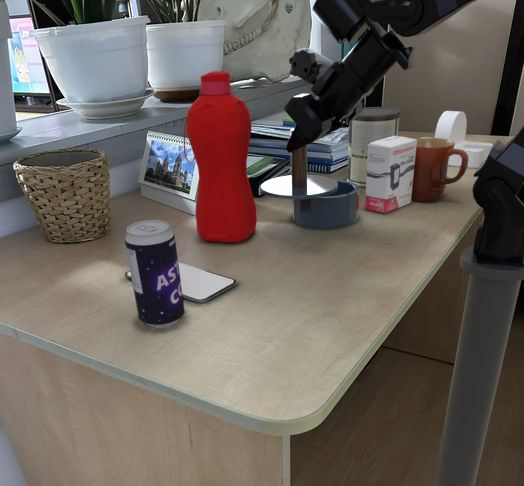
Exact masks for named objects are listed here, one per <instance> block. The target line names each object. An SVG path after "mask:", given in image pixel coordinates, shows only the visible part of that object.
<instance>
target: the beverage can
mask: <svg viewBox="0 0 524 486" xmlns="http://www.w3.org/2000/svg"><path fill="white" fill-rule="evenodd" d="M125 230H126V235H125V238H124V245H125V251H126V255H127V261H128V266H129V271H130V272H131V278H132V280H131V282H132V288H133V293H134V299H135V305H136V309H137V314H138V319H139V320H140V321H141V322H143V324H146V325H147V326H149V327H151V328H156V329H163V328H169V327H171V326H174V325H175V324H177V323H178V322H179V321H180V320H181V318H182V317H183V316H184V315H185V312H186V310H185V309H186V308H185V304H184V303H185V301H184V298H183V294H182V287H181V279H180V272H179V264H178V262H179V258H178V251H177V242H176V235H175V234H174V232H173V230H172V229H171V224H170V223H169V222H167V221H165V220H161V219H147V220H142V221H137V222H133V223H131V224H129V225H128V226H127V227H126V229H125Z"/></svg>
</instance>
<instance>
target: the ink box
mask: <svg viewBox="0 0 524 486" xmlns="http://www.w3.org/2000/svg"><path fill="white" fill-rule="evenodd" d="M416 139H417V138H411V137H406V136H402V135H401V136H400V135H398V136H392V137H388V138H385V139H381V140H378V141H375V142H371V143H370V144H368V158H367V177H366V187H365V199H364V209H365V210H369V211H373V212H378V213H381V214H388V213H391V212H392V211H395V210H397V209H400V208H402V207H404V206H407V205H410V204H411V203H412V200H411V194H412V185H413V175H414V165H415V156H416V146H417V140H416Z"/></svg>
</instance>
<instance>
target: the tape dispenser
mask: <svg viewBox="0 0 524 486" xmlns="http://www.w3.org/2000/svg"><path fill="white" fill-rule="evenodd" d="M467 125H468V123H467V115H466V113H465V112H464V111H456V110H445V111H443V113H441V115H440V116H439V118H438V121H437V124H436V128H435V131H434V138H442V139H448V140H451V141H453V142H455V146H454V149H461V150H464V151H465V152H466V153H467V155H468V166H467V168H470V169H478V167H479V166H480V164H481V163H482V162H484V161H485V160H486V159H487V157H488V155H489V153H490V151H491V149H492V147H493V146H494V144H493V143H492V142H491V143H489V142H481V141H470V140H469V141H468V140H466V135H467ZM421 138H429V137H428V136H427V137H426V136H424V137H423V136H421ZM461 163H462V158H461V156H460V155H457V154H454V155H452V156H450V157H449V161H448V166H453V167H461Z"/></svg>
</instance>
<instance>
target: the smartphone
mask: <svg viewBox="0 0 524 486" xmlns="http://www.w3.org/2000/svg"><path fill="white" fill-rule="evenodd" d="M178 264H179V272H180V279H181V287H182V294H183V299H186V300H188V301H193V302H194V303H199V304H202V303H207V302H209V301H211V300H213V299H214V298H216V297H218V296H220V295H222V294H223V293H225V292H227V291H228V290H230V289H232V288H234V287H236V286H237V284H238V281H237V280H236V279H235V278H232V277H228V276H224V275H221V274H218V273H215V272H212V271H208V270H206V269H203V268H199V267H195V266H193V265H189V264H186V263H183V262H179V261H178ZM124 278H126V279H128V280H131V281H132V278H131V272H130V270H128V271H126V272H124Z"/></svg>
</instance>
